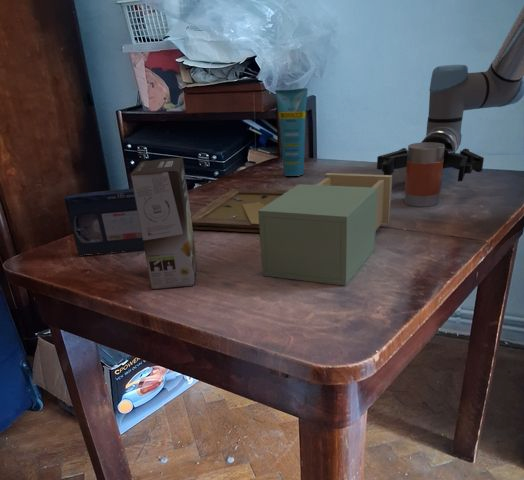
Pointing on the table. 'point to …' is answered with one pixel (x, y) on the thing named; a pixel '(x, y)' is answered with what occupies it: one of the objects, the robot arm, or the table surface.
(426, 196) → the tin can
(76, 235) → the vhs cassette tape
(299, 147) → the tube
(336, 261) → the cabinet
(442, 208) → the table surface
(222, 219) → the picture frame
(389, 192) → the drawer
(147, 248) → the coffee box
